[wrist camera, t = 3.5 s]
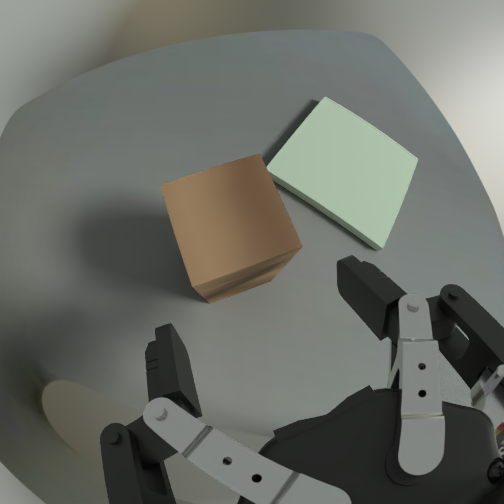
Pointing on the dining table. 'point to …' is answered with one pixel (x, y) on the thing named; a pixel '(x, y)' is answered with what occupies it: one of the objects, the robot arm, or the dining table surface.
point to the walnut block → (230, 227)
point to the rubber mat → (346, 171)
